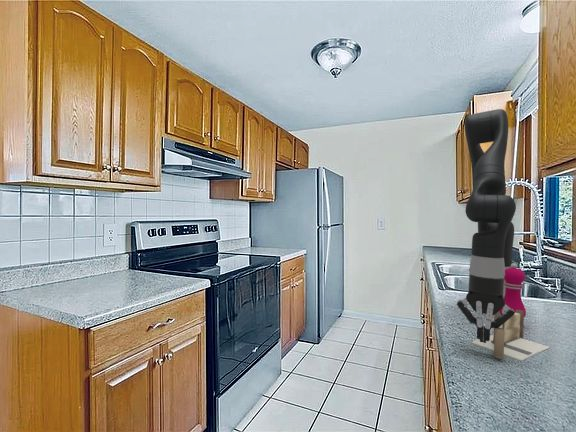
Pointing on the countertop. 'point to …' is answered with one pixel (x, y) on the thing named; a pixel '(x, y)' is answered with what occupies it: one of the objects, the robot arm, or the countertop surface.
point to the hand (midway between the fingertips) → (482, 341)
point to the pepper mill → (513, 288)
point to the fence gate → (499, 343)
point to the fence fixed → (512, 326)
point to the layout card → (515, 347)
